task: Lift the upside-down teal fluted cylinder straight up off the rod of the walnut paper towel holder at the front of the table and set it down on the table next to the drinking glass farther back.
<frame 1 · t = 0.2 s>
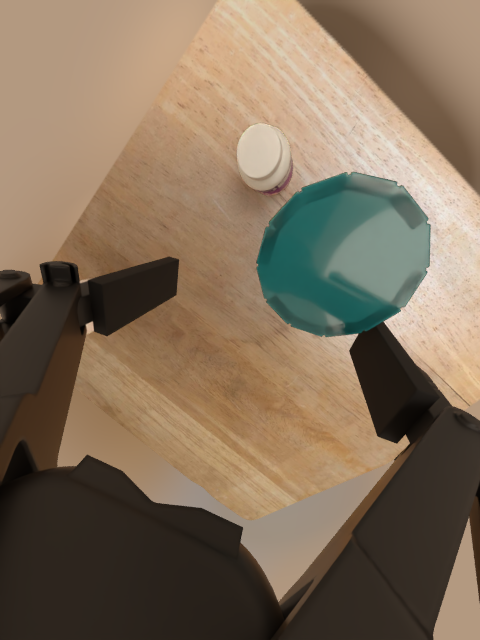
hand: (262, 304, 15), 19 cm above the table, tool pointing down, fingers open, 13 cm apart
teal fluted cylinder: (321, 246, 20), point 11 cm above the table, touching towel holder
pill bottle: (272, 172, 28), on the table
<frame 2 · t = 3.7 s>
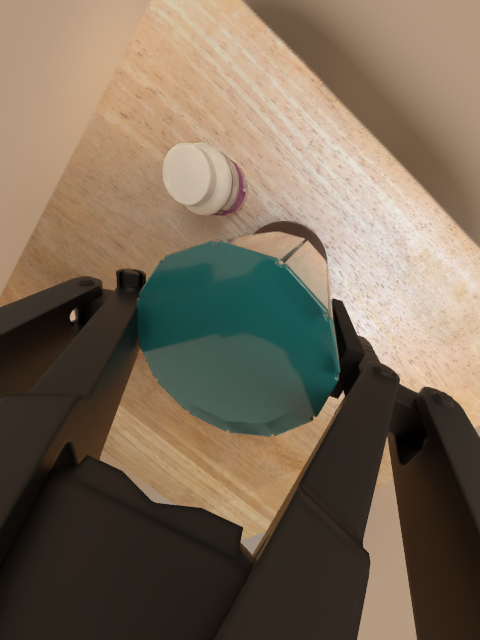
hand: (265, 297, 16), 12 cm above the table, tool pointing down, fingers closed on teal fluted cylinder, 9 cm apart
teal fluted cylinder: (274, 288, 17), point 11 cm above the table, touching gripper, towel holder
pill bottle: (226, 190, 25), on the table
towel holder: (282, 266, 26), on the table
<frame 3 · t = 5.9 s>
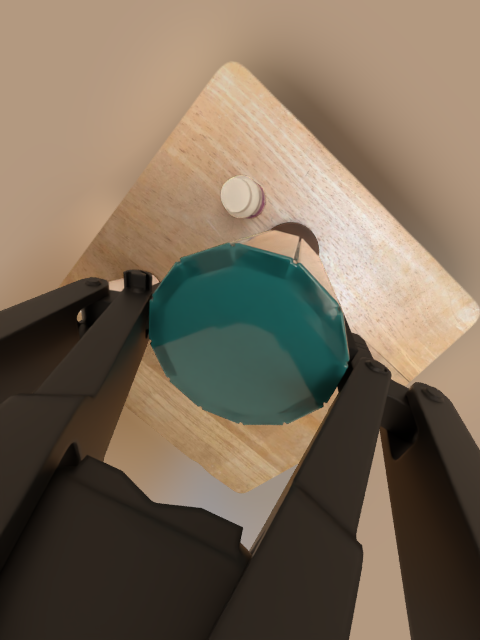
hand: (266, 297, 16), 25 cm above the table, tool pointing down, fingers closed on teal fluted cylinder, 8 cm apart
teal fluted cylinder: (270, 285, 17), point 23 cm above the table, touching gripper
pill bottle: (251, 201, 36), on the table
towel holder: (288, 253, 38), on the table
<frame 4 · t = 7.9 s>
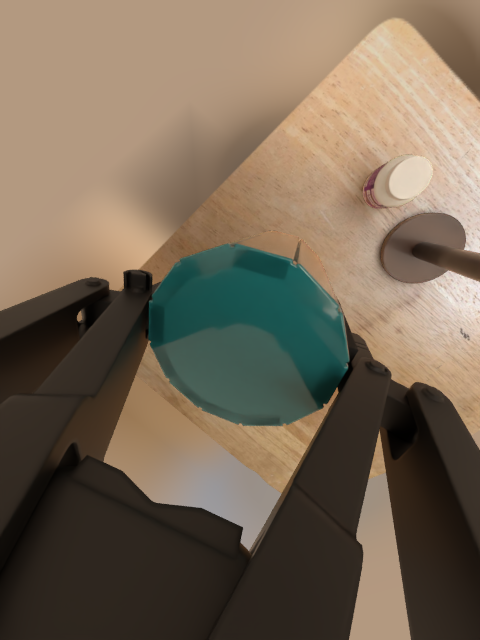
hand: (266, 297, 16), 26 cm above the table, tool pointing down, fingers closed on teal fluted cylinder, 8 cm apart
teal fluted cylinder: (270, 285, 17), point 24 cm above the table, touching gripper
pill bottle: (382, 188, 32), on the table
towel holder: (417, 249, 33), on the table
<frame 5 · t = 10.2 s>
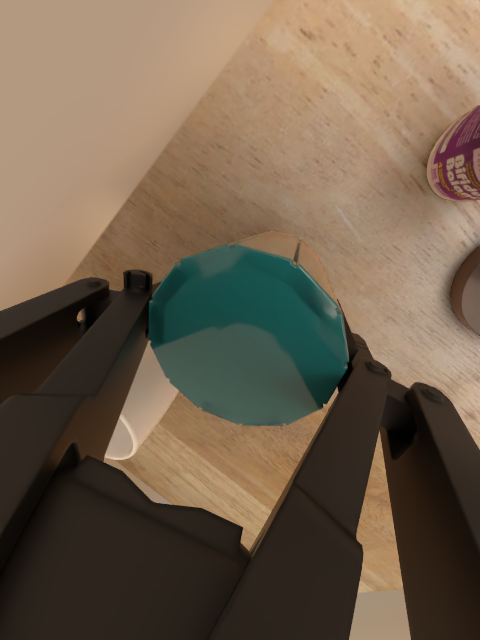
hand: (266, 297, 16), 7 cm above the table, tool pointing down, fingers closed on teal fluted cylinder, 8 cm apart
drinking glass: (195, 325, 27), on the table
teal fluted cylinder: (270, 285, 17), point 5 cm above the table, touching gripper
pill bottle: (468, 159, 15), on the table
when the fingers open (2 cm above the table, at t = 12.0 s): teal fluted cylinder stays where it is, on the table.
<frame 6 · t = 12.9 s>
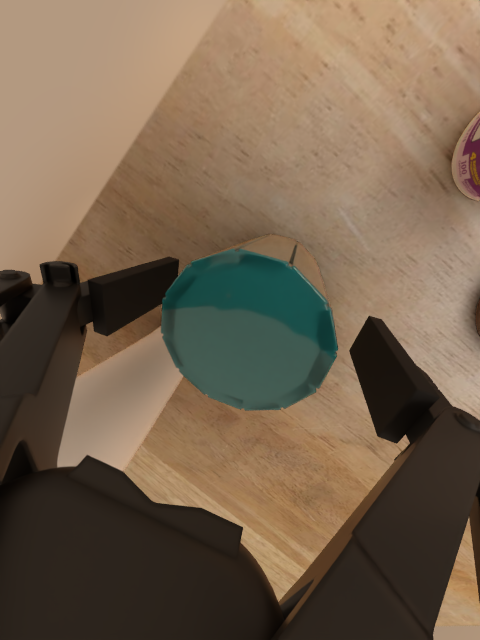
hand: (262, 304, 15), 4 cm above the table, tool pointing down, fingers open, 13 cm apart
drinking glass: (178, 342, 24), on the table
teal fluted cylinder: (270, 285, 19), on the table
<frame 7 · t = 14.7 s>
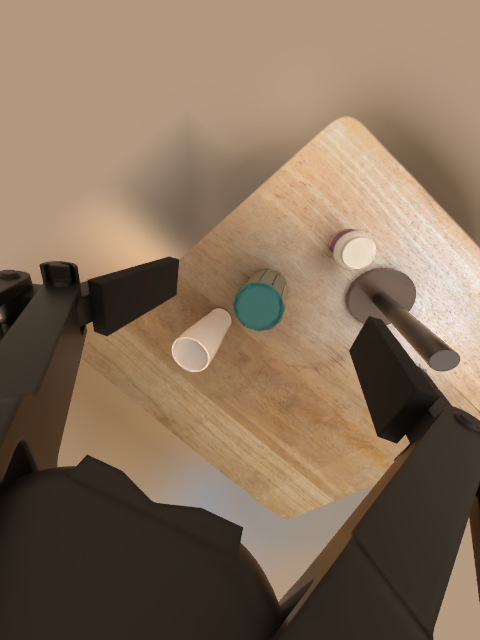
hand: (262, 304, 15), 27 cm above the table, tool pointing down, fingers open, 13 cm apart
drinking glass: (221, 318, 48), on the table
teal fluted cylinder: (266, 289, 43), on the table
pill bottle: (345, 246, 36), on the table
towel holder: (377, 296, 38), on the table
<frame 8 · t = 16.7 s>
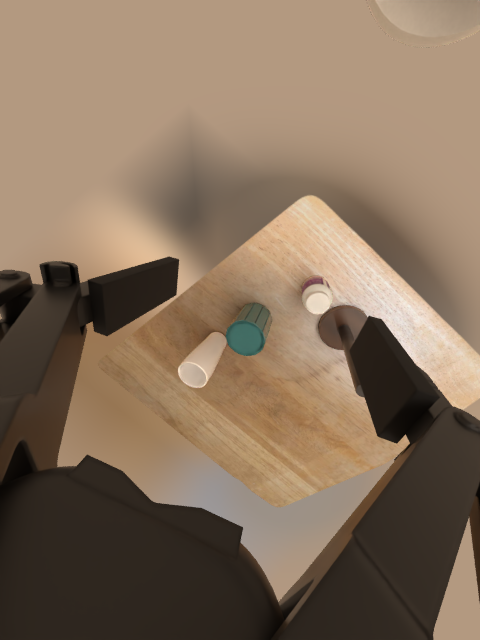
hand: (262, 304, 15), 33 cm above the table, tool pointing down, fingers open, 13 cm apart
drinking glass: (218, 339, 58), on the table
teal fluted cylinder: (255, 318, 52), on the table
pill bottle: (315, 287, 45), on the table
towel holder: (343, 326, 47), on the table
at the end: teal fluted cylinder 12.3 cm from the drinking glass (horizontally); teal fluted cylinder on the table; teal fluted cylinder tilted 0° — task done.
